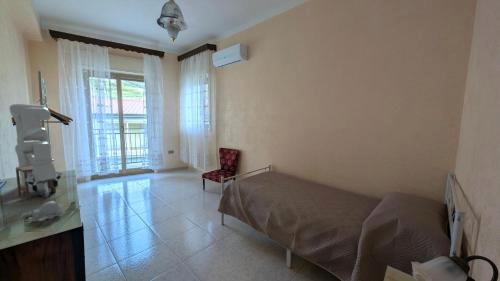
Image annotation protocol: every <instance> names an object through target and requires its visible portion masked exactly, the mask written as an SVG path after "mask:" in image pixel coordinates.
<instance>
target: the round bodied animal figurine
mask: <svg viewBox="0 0 500 281" xmlns="http://www.w3.org/2000/svg"><path fill="white" fill-rule="evenodd" d="M31 213H32V214H31V215H32V216H31V217H30V216H28V219H29V220H30V221H31V222H33V223H34V222H38V221H39V219H41V218H43V217H44V216H46V217H47V219H48V220H49V221H50V220H53V219H54V218H56V217H58V216H61V215H62V214H63V209H62V207H60V205H59V203H58V202H56V201H54V200H50V201H46V202H44V203H43V204H42V205H40V208H39V209H37V210H35V209H33V211H32V212H31Z"/></svg>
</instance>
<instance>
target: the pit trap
mask: <svg viewBox="0 0 500 281" xmlns="http://www.w3.org/2000/svg"><path fill="white" fill-rule="evenodd" d="M23 190H26V187H22V188H21V195H24V193H23ZM16 192H17V193H18V188H16Z"/></svg>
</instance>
